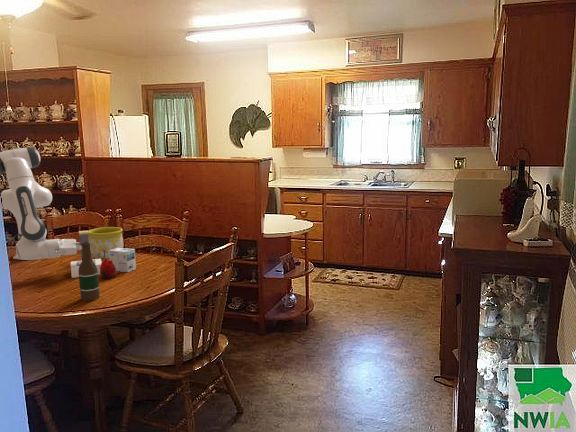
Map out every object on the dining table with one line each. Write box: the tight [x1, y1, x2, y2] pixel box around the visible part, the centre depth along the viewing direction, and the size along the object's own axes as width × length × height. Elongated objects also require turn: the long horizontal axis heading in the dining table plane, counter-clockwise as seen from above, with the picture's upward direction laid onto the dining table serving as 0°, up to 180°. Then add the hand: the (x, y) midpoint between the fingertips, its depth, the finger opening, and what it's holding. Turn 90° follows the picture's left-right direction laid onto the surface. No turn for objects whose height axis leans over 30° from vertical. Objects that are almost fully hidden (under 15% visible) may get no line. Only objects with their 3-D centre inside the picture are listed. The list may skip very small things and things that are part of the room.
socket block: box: [70, 259, 102, 279], centre depth 235 cm, size 12×14×5 cm
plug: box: [78, 230, 89, 261], centre depth 233 cm, size 4×4×14 cm
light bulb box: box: [110, 247, 137, 273], centre depth 238 cm, size 11×7×11 cm, turn 71°
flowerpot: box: [87, 226, 124, 262], centre depth 259 cm, size 18×18×16 cm
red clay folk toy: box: [99, 249, 117, 280], centre depth 226 cm, size 8×7×15 cm
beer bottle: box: [78, 242, 100, 302], centre depth 196 cm, size 8×8×24 cm
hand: (86, 245), depth 233 cm, fingers closed on plug, 4 cm apart
